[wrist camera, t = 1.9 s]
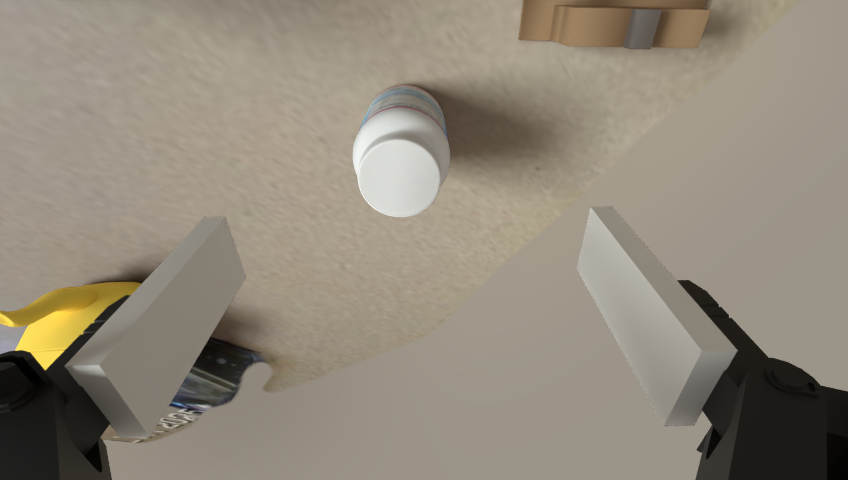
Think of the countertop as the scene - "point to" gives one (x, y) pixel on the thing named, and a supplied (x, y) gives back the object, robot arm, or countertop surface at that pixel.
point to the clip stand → (615, 22)
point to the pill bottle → (402, 151)
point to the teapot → (62, 317)
